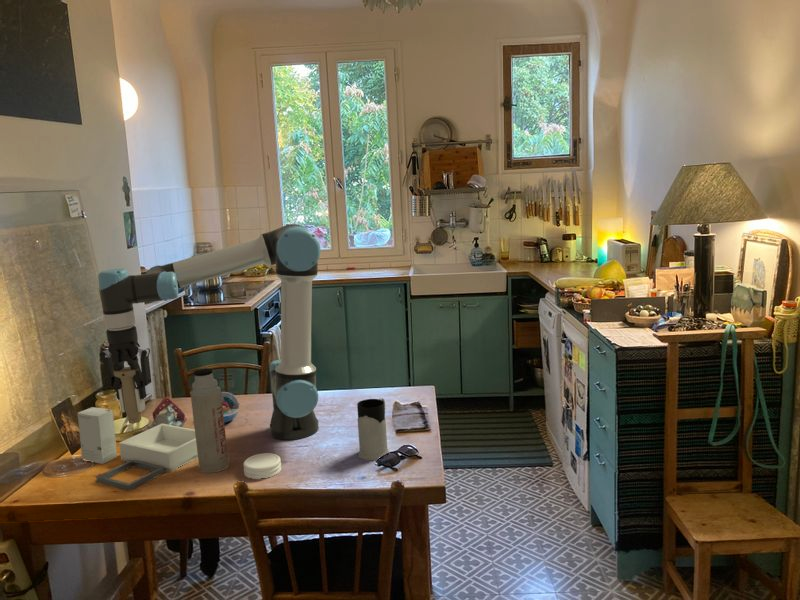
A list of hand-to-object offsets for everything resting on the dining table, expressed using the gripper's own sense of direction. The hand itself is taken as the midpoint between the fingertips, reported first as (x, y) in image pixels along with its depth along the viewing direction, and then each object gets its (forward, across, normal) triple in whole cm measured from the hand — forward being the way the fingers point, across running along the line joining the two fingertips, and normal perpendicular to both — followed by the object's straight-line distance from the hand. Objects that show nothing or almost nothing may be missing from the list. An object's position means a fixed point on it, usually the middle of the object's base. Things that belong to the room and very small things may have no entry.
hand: (133, 410), depth 186 cm
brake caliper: (+18, +6, -30) cm, 36 cm away
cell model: (+19, -10, -37) cm, 43 cm away
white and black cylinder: (+19, -64, -14) cm, 68 cm away
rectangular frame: (+18, +2, +4) cm, 18 cm away
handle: (+3, 0, 0) cm, 3 cm away
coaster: (+19, -34, 0) cm, 39 cm away
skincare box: (+18, +17, -8) cm, 26 cm away
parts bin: (+18, -2, -11) cm, 21 cm away
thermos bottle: (+19, -19, -3) cm, 27 cm away
